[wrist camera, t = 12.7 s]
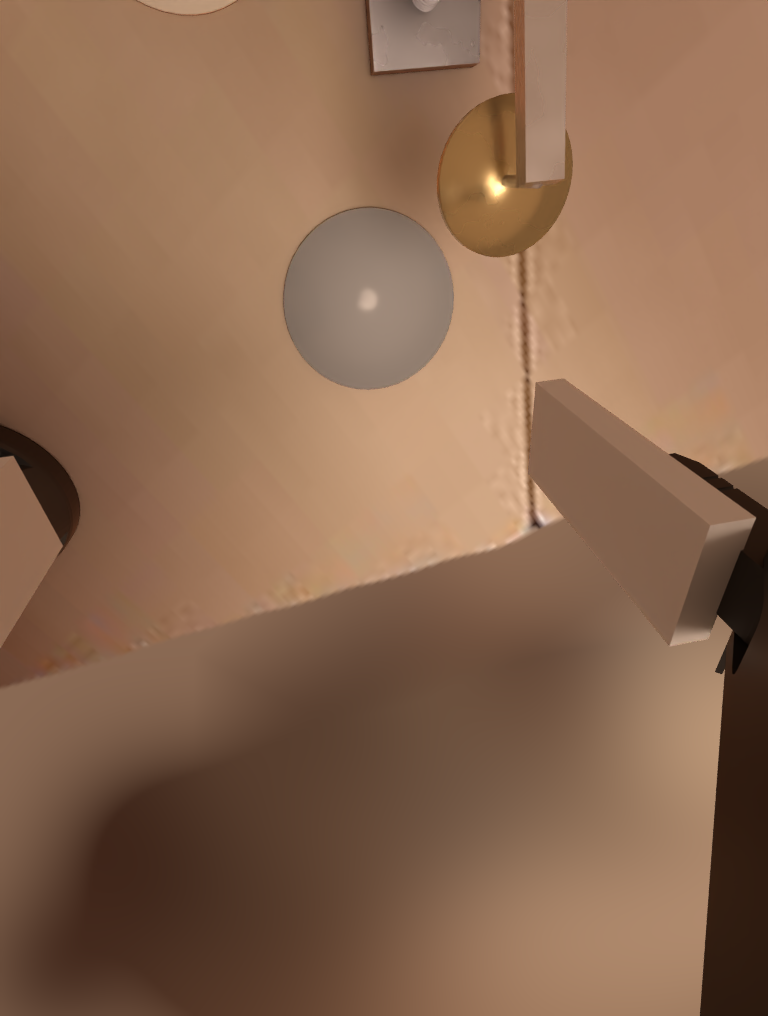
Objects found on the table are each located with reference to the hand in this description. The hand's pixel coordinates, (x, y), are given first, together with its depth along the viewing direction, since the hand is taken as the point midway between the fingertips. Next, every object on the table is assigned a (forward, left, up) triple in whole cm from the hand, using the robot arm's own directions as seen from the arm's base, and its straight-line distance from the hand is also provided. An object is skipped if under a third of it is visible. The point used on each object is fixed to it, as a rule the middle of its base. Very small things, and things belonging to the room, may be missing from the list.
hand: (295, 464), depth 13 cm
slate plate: (+6, -3, -32) cm, 32 cm away
